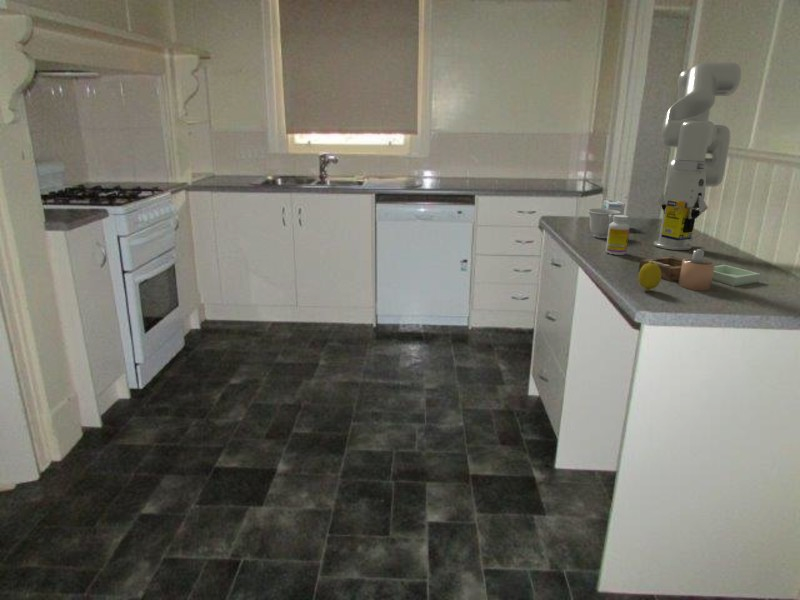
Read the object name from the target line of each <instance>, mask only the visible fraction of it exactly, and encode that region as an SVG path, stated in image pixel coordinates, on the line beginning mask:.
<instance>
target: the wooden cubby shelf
mask: <svg viewBox="0 0 800 600" xmlns="http://www.w3.org/2000/svg"><path fill="white" fill-rule="evenodd" d="M683 259H684V258H681V257H677V256H673V255H671V256H662V257H655V258H647V259H641V260H640V261H639V266H638V273H639V272H640V269H641V268H642V266H643V265H645V264H647V263H650V262H654V263H655V264H657V265H658V266H659V267H660V270H661V279H662V278H663V279H662V280H665V279H666V281H669V282H670V281H676V280H678V281H679V277H680V272H681V266H682V261H683Z"/></svg>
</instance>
